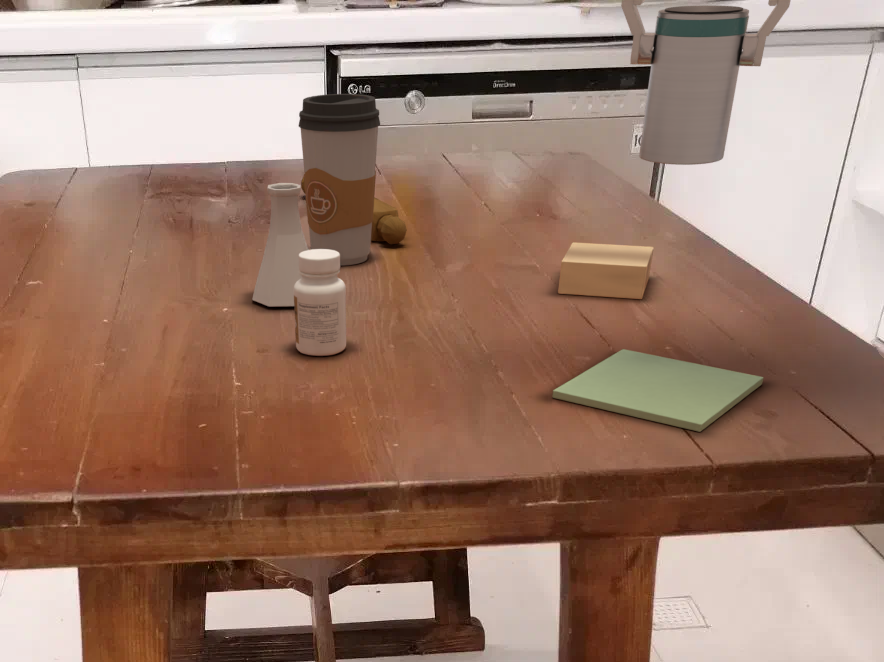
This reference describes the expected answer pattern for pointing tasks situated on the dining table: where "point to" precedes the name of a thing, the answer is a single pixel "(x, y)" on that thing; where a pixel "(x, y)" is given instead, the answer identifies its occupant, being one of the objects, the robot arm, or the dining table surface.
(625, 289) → the plate
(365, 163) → the coffee cup
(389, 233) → the tap handle
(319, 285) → the pill bottle
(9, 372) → the dining table surface
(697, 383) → the mat
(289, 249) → the flask
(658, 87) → the tumbler
